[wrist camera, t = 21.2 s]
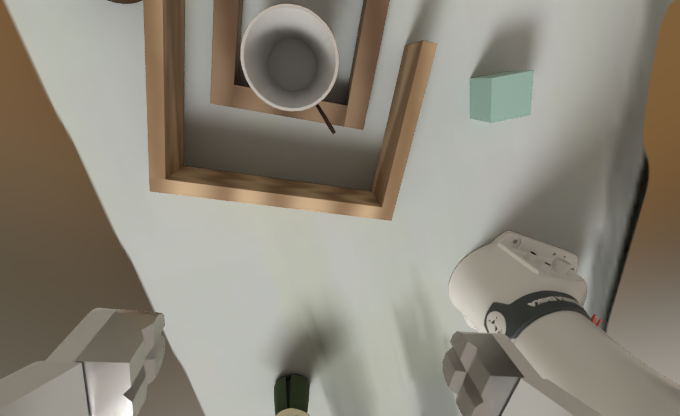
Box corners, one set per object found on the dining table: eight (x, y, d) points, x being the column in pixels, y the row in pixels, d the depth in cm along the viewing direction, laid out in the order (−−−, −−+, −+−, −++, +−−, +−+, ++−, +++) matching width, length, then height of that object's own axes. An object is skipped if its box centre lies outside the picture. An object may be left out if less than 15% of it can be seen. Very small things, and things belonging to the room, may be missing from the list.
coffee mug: (247, 27, 35) (229, 8, 26) (324, 20, 36) (333, -1, 26) (267, 132, 39) (258, 148, 30) (335, 124, 40) (346, 137, 31)
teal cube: (506, 71, 40) (533, 70, 36) (505, 111, 42) (530, 115, 38) (469, 78, 40) (491, 78, 36) (469, 118, 42) (490, 122, 37)
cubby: (417, 49, 38) (437, 43, 32) (379, 203, 45) (391, 220, 39) (168, -9, 33) (142, -26, 27) (170, 176, 40) (149, 191, 34)
